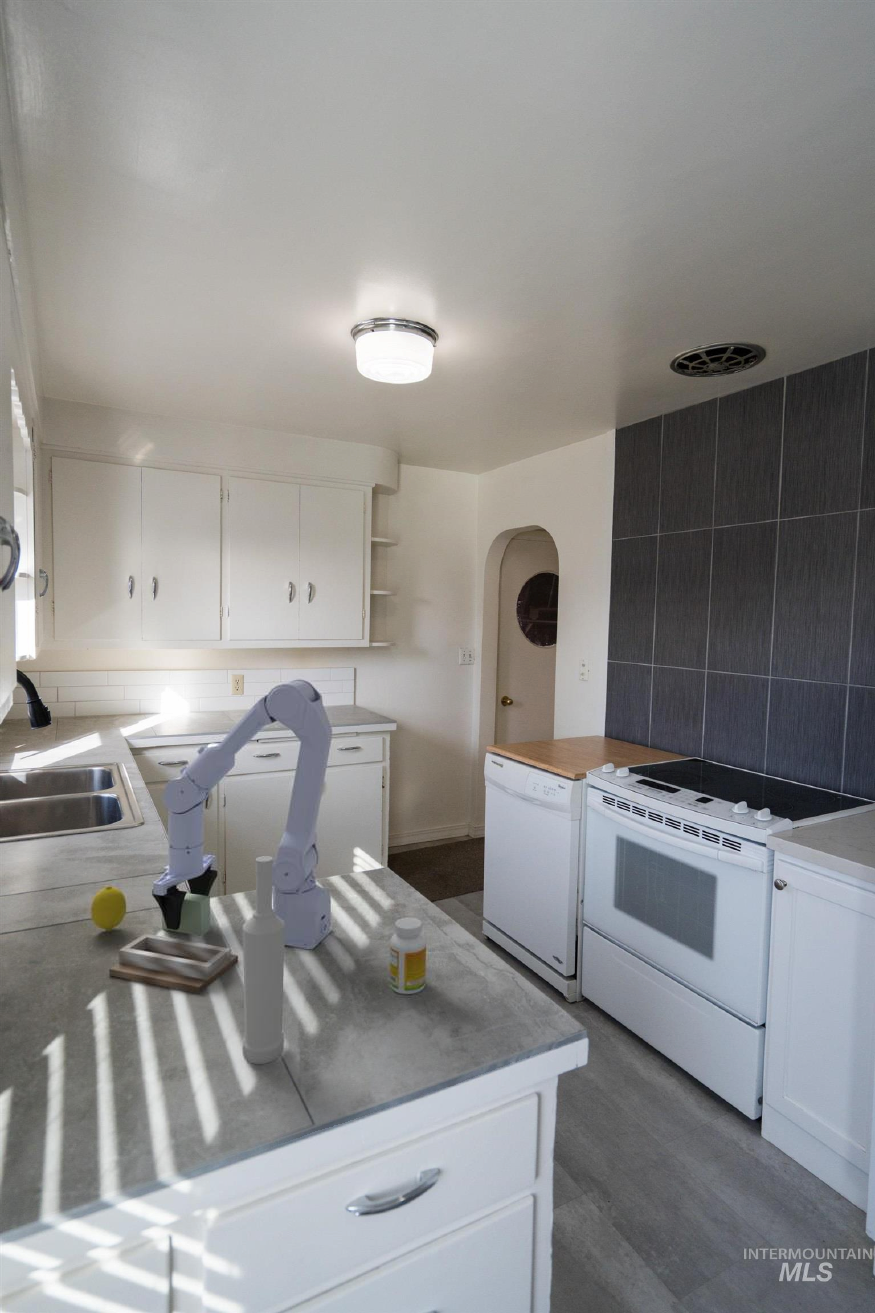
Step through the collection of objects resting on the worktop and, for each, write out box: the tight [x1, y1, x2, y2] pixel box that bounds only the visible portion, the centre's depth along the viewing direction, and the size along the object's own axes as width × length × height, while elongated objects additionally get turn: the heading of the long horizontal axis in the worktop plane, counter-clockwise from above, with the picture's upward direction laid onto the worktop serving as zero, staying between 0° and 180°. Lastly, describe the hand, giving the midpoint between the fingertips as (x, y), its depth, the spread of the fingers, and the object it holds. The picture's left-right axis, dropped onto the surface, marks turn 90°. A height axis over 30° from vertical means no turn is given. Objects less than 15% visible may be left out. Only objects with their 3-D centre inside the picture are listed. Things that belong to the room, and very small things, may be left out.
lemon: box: [90, 885, 127, 932], centre depth 120 cm, size 6×6×8 cm
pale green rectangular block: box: [161, 892, 211, 937], centre depth 122 cm, size 8×2×6 cm, turn 73°
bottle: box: [242, 855, 285, 1065], centre depth 87 cm, size 5×5×25 cm
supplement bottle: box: [389, 917, 427, 995], centre depth 104 cm, size 5×5×10 cm
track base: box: [108, 933, 239, 994], centre depth 108 cm, size 16×10×3 cm, turn 73°
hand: (186, 920), depth 122 cm, fingers open, 6 cm apart
